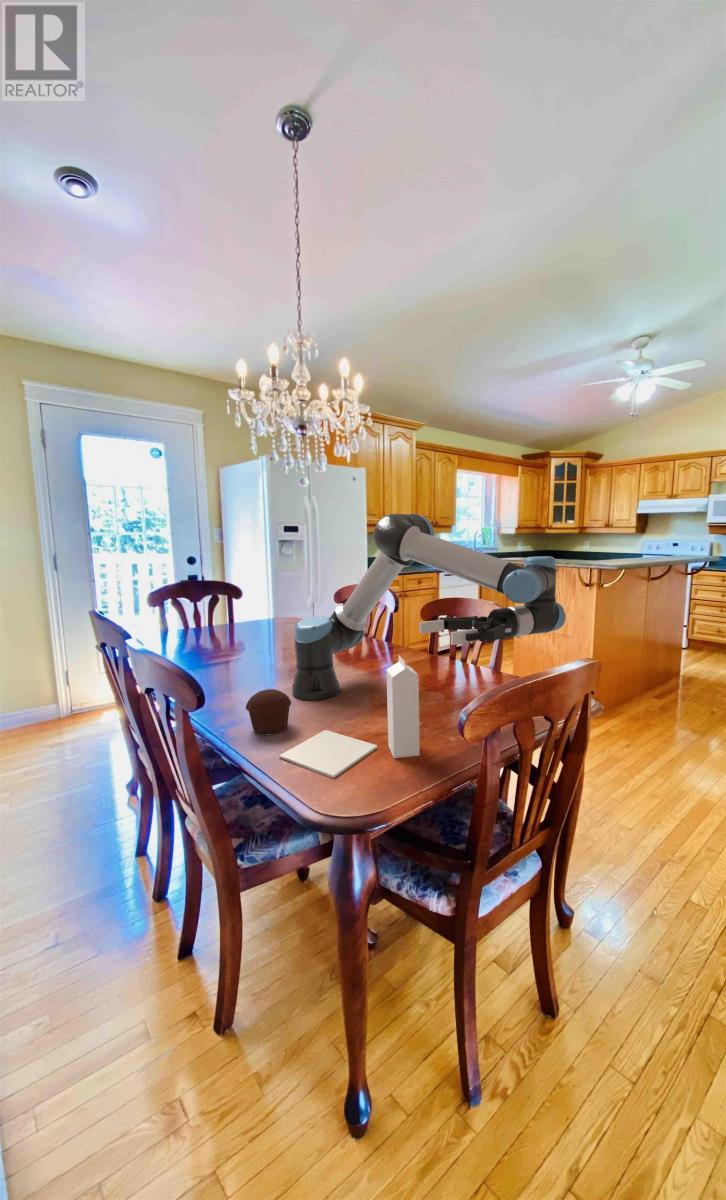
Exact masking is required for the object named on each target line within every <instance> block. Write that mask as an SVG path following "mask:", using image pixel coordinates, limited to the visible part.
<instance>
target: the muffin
mask: <svg viewBox="0 0 726 1200" xmlns="http://www.w3.org/2000/svg"><path fill="white" fill-rule="evenodd" d="M247 700H248V701H247V703H246V705H245V710H246V711H247V712H248V714H249V718H250V723H251V726H252V730H253V729H254V730H253V731H254V734H255V733H259V734H258V735H260V734H263V735H264V736H267V735H266V734H275V735H277V734H279V732H280V733H283V732H285V730H286V729H287V728H288V725H289V715H290V707H291V705H292V700H291V699H290V697H289V696H288V694H287V693H285V692H283V691H281V690H278V689H271V688H270V689H269V688H268V689H264V690H263V689H262V690H260V691H258V692H256V693H255V694H253V695H252V696H251V697H250V698H249V699H247ZM263 735H262V736H263Z"/></svg>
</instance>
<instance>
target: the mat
mask: <svg viewBox="0 0 726 1200" xmlns="http://www.w3.org/2000/svg"><path fill="white" fill-rule="evenodd" d="M377 749H378V745H377V744H375V743H371V742H367V741H364V740H360V739H359V738H358V739H357V738H353V737H350V736H347V735H343V734H341V733H337V732H334V731H330V730H327V729H324V730H321V732H319V733H317V734H316V735H314V736H312V737H310V738H308V739H306V740H305V741H302V742H301V743H299V744H297V745H296V746H293V747H292V748H289V749H288V750H286V751H285V752H283V753H281V754H279V757H280V758H279V757H278V758H279V759H281V758H282V760H284V761H286V760H287V762H289V761H290V763H292V764H294V763H295V765H298V766H300V767H302V766H303V768H305V769H308V770H311V771H314V772H316V773H319V774H321V775H324V776H326V777H328V778H332V779H335V778H336V777H338V776H339V775H341V774H342V773H343V772H345V771H346V770H347V769H349V768H351V767H352V766H353V765H355V764H357V762H359V761H361V760H362V759H364V758H365V757H366V756H368V755H369V754H370V753H372V752H373V751H375V750H377Z"/></svg>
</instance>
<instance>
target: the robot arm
mask: <svg viewBox="0 0 726 1200" xmlns="http://www.w3.org/2000/svg"><path fill="white" fill-rule="evenodd" d="M373 541H374V544H375V546H376V547H377V549H378V550H379V553H378V554H377V556H376V557H375V559H374V560H373V562H372V563H371V565H370V566H369V568H368V569H367V570H366V571H365V573H364V575H363V576H362V578H361V579H360V581H359V582H358V584H357V585H356V587H355V588H354V590H353V591H352V593H351V594H350V596H349V597H348V598H347V600H346V601H345V603H344V604H341V605H337V607H336V608H335V610H334V611H333V612H332V614H331V615H330V617H327V616H321V615H319V616H313V617H306V618H304V619H301V620H299V621H298V622H297V623H296V624H295V626H294V635H293V636H294V638H293V639H294V646H295V647H294V649H295V662H296V664H295V665H296V666H295V667H296V671H295V674H294V679H293V683H292V686H291V692H292V693H291V694H292V696H293V697H295V698H297V699H300V700H305V701H318V700H319V701H320V700H324V699H330V698H332V697H334V696H336V695H338V694H339V693H340V689H341V687H340V686H341V685H340V682H339V680H338V678H337V674H336V671H335V668H334V655H335V654H338V653H340V652H343V651H345V650H350V649H352V648H354V647H356V646H357V645H360V643H361V642H362V640H363V639H364V637H365V633H366V631H365V629H366V627H367V621H366V620H367V618H368V617H369V616H370V614H371V613H372V612H373V610H374V609H375V607H376V606H377V604H378V603H380V600H381V599H382V598H383V596H384V595H385V593H386V592H387V591H388V590H389V588H390V587H391V585H392V584H393V582H394V581H395V579H396V578H397V577H398V576H399V574H400V573H401V571H402V570H403V568H407V567H408V568H410V567H411V566H412V564H413V563H414V562H417V563H420V564H422V565H425V566H428V567H431V568H432V569H436V570H438V571H441V572H443V573H446V574H448V575H451V576H454V577H457V578H459V579H463V580H466V581H468V582H470V583H473V584H476V585H478V586H481V587H483V588H486V589H490V590H491V591H495V592H498V593H500V594H501V595H505V597H506V598H507V599H508V600H509V601H511V602H512V603H514V604H523V605H516V606H507V607H500V608H494V609H493V610H491V611H490V612H489V614H488V615H487V616H482V615H481V616H478V615H473V616H453V617H452V616H451V617H450V616H449V617H439V619H438V620H429V621H421V622H419V623H418V625H419V634H421V635H424V634H429V633H438V632H441V633H444V632H445V630H455V631H450V645H451V646H455V645H462V644H469V643H475V642H478V641H479V642H486V643H488V644H489V643H490V644H491V643H493V642H496V641H498V640H506V639H511V638H516V639H521V637H522V636H528V635H535V634H547V633H550V632H554V631H558V630H560V629H561V628H562V627H563V626H564V625H565V622H566V620H567V619H566V618H567V616H566V615H567V614H566V612H565V610H564V609H565V608H564V607H563V606H562V605H561V604H560V603H559V602H557V600H556V599H557V598H556V590H557V589H556V587H557V571H558V569H557V563H556V561H557V560H556V558H555V557H553V556H549V555H546V556H545V555H544V556H542V555H541V556H538V555H537V556H528V557H525V559H524V561H523V565H519V564H517V563H514V562H510V561H509V560H504V559H501V558H499V557H496V556H494V555H493V556H492V555H490V554H487V553H483V552H481V551H479V550H478V551H477V550H475V549H473V548H469V547H466V546H465V545H464V546H463V545H462V544H457V543H454V542H452V541H449V540H445V539H442V538H440V537H437V536H435V531H434V527H433V525H432V523H431V521H430V520H429V519H428V518H427V517H425V516H424V515H421V514H417V513H389V514H387V515H384V516H383V517H382V518H380V519H379V520H378V521H377V523H376V524H375V526H374V529H373ZM456 630H457V631H456Z"/></svg>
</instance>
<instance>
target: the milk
mask: <svg viewBox="0 0 726 1200" xmlns="http://www.w3.org/2000/svg"><path fill="white" fill-rule="evenodd" d="M419 676H420V675H419V674H418V673H417V671H415V670H414V668H412V667H411V666H409V665H407V664H406V661H405V660H404V658H403V657H401V655H398V662H396V663H393V664H392V665H391V666H390V667H388V668H387V669H386V696H387V697H386V698H387V699H386V700H387V701H386V703H387V707H386V708H387V737H388V739H387V742H388V743H387V745H388V747H389V750H390V753H391V754H392V756H393V759H401V758H410V757H418V756H420V755H421V754H420V701H419V699H420V695H419V693H420V691H419V690H420V688H419V687H420V685H419V682H420V681H419Z"/></svg>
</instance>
